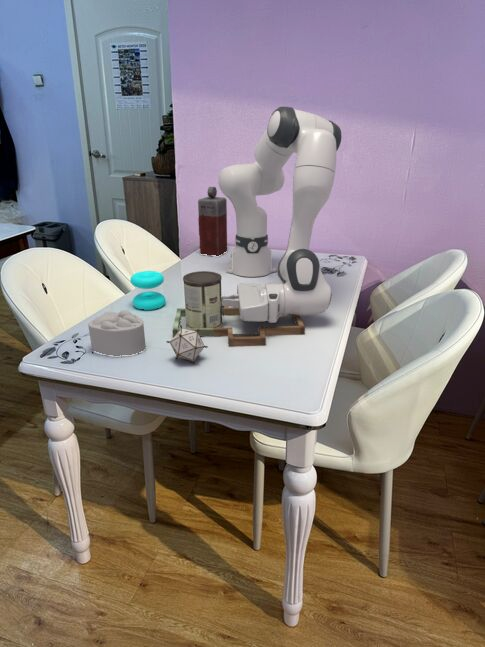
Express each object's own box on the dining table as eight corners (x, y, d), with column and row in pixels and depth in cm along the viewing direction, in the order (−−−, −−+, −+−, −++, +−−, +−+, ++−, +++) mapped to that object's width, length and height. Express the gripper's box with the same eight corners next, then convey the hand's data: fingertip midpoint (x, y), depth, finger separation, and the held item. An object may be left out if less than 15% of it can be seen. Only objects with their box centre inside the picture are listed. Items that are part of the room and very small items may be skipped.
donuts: (153, 281, 130) (123, 277, 133) (155, 313, 134) (126, 309, 137) (169, 271, 139) (141, 268, 142) (171, 301, 143) (143, 298, 146)
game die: (182, 370, 110) (169, 332, 112) (214, 358, 110) (200, 320, 111) (172, 370, 101) (158, 329, 103) (207, 357, 101) (192, 315, 102)
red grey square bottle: (205, 249, 203) (202, 184, 191) (227, 252, 198) (226, 186, 187) (195, 254, 195) (192, 187, 184) (218, 257, 191) (216, 188, 180)
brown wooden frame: (179, 307, 138) (178, 301, 138) (292, 305, 140) (292, 299, 139) (170, 347, 113) (170, 340, 113) (308, 344, 115) (309, 337, 114)
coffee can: (197, 315, 133) (195, 269, 127) (228, 321, 129) (228, 273, 123) (178, 328, 124) (175, 279, 118) (211, 335, 120) (209, 284, 114)
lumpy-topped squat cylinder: (111, 335, 120) (107, 305, 117) (154, 342, 116) (151, 311, 113) (86, 352, 111) (81, 320, 108) (132, 361, 107) (128, 327, 104)
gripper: (268, 277, 133) (220, 278, 132) (276, 302, 114) (221, 303, 113) (267, 297, 135) (221, 298, 134) (276, 325, 116) (222, 326, 116)
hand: (221, 301), depth 124 cm, fingers closed, pressing on coffee can
